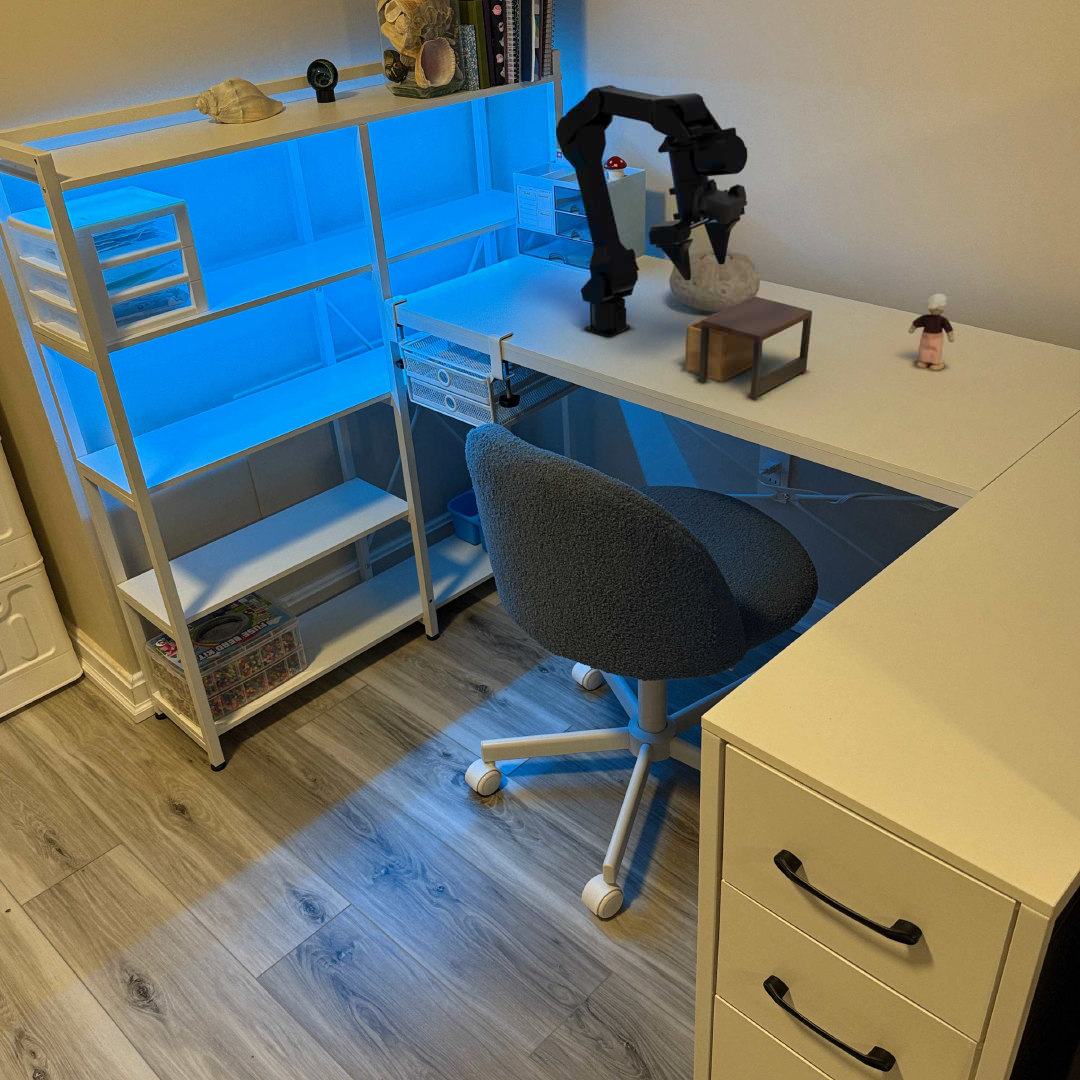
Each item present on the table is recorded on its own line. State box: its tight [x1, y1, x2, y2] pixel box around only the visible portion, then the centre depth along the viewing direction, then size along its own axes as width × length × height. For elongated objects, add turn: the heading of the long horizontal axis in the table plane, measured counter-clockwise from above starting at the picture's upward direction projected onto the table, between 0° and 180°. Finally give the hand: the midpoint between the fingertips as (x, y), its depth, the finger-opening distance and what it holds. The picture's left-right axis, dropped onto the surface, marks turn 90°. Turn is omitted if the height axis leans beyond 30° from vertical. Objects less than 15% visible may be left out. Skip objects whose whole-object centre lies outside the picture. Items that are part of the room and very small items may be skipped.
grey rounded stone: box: [669, 249, 761, 313], centre depth 207 cm, size 18×18×10 cm
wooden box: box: [684, 311, 754, 383], centre depth 181 cm, size 8×10×8 cm
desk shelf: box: [698, 295, 813, 401], centre depth 176 cm, size 12×15×11 cm
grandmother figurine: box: [907, 293, 956, 371], centre depth 177 cm, size 8×4×13 cm, turn 65°
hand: (705, 272), depth 177 cm, fingers open, 9 cm apart
